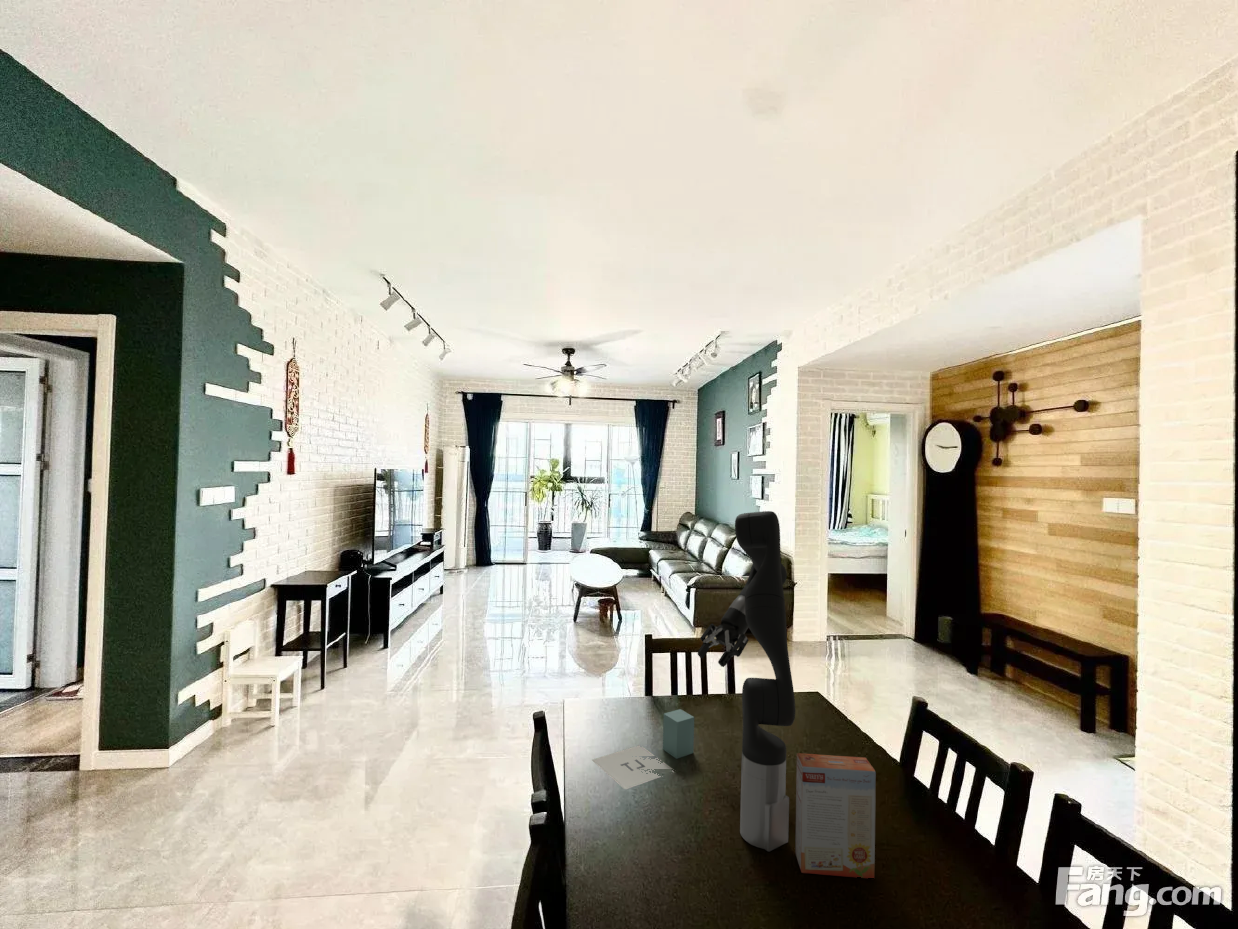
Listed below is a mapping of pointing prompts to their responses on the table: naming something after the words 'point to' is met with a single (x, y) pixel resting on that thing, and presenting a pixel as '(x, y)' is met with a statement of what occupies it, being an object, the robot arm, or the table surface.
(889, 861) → the table surface
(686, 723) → the teal block
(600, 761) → the card
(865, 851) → the cracker box
